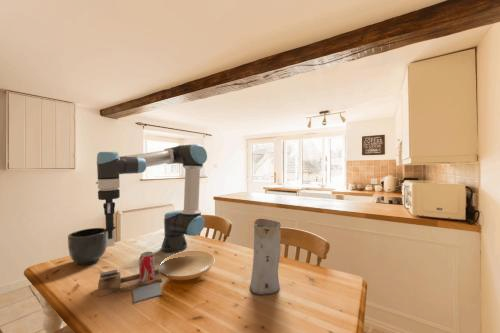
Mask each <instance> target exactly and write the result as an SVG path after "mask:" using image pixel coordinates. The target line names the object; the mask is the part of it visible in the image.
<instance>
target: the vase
mask: <svg viewBox="0 0 500 333" xmlns="http://www.w3.org/2000/svg"><path fill="white" fill-rule="evenodd" d="M281 228H282V227H281V222H280V221H276V220H272V219H267V218H258V219H256V220H254V222H253V258H252V260H253V261H252V270H251V271H252V272H251V278H250V285H249V290H250V291H251V292H252V295H257V296H265V295H273V294H276V293H278V292H280V288H281V287H280V280H279V266H280V265H279V264H280V259H281V258H280V256H281V236H282V234H281Z"/></svg>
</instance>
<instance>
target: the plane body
mask: <svg viewBox="0 0 500 333" xmlns="http://www.w3.org/2000/svg"><path fill="white" fill-rule="evenodd" d="M118 272H119V274H118V275H114V276H110V277H105V278H100V277H99V278H98V282H97V283H98V284H97V285H98V287H97V288H98V289H97V290H98V291H97V292H98V293H97V294H98V297H101V296H106V295H109V294H112V293H116V292H120V293H123V292H128V291H133V289H135V288H138V287H142V286H146V285H150V284H154V283H162V280H163V279H162V277H159V278H154V279H153V280H150V281H146V282H139V283H134V284H131V285H126V286H122V287H121V283H122V282H126V281H131V280H135V279H140V275H139V273H136V274H132V275H128V276H123V277H121V271H118ZM159 273H160V270H159V269H155V275H156V274H159Z"/></svg>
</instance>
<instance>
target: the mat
mask: <svg viewBox="0 0 500 333" xmlns="http://www.w3.org/2000/svg"><path fill="white" fill-rule="evenodd" d="M159 283H160V282H159ZM159 283H154V284H150V285H146V286H142V287H138V288H135V289H132V298H133V304H135V303H138V302H143V301H145V300H149V299H153V298H156V297H159V296H162V295H163V293H162V290H161V287H160V284H159Z"/></svg>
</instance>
